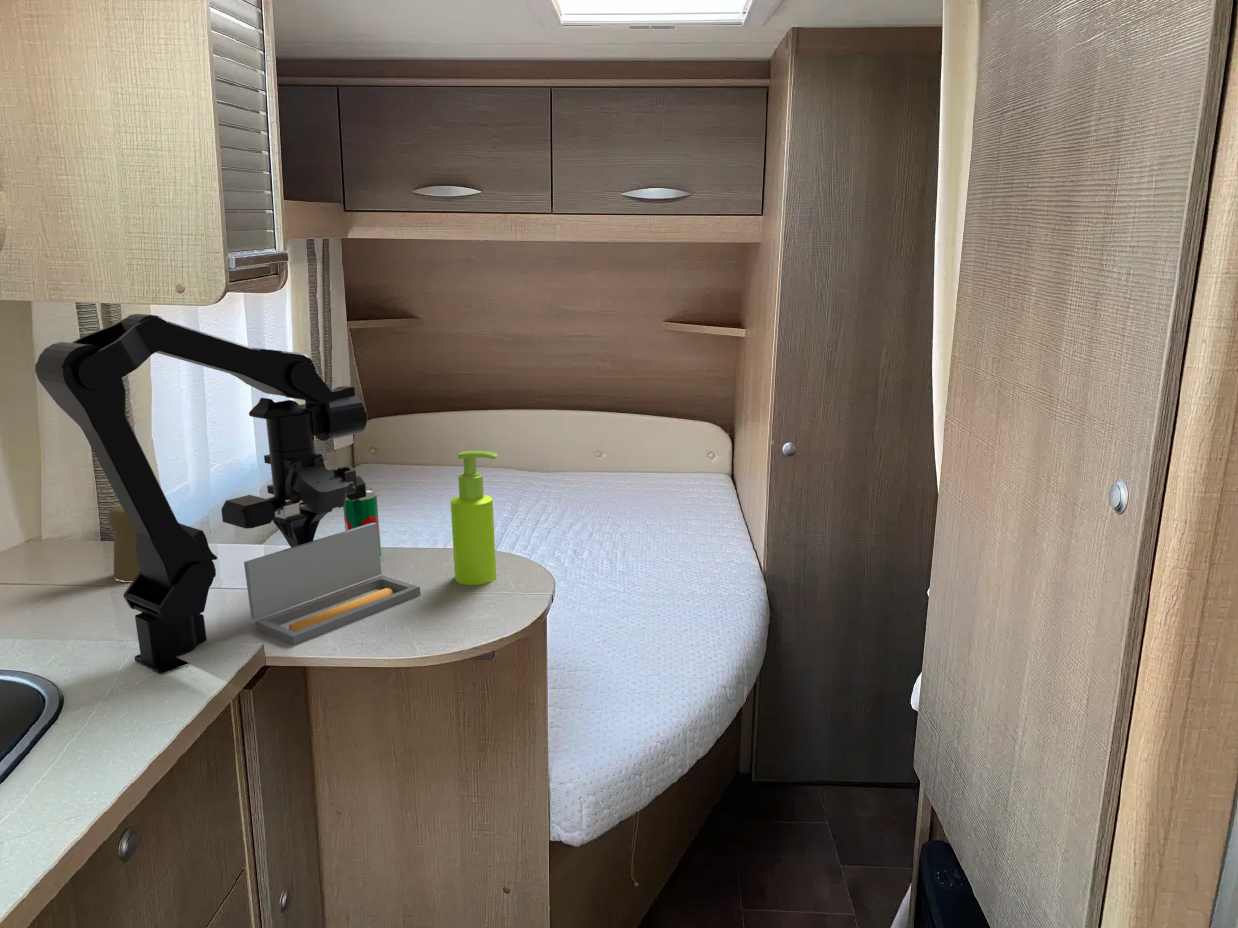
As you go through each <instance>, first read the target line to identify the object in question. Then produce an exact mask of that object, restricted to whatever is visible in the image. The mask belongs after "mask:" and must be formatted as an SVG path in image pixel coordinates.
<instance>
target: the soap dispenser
mask: <svg viewBox="0 0 1238 928" xmlns="http://www.w3.org/2000/svg"><path fill="white" fill-rule="evenodd" d="M498 455H499V453H498V452H494V451H491V450H490V451H489V450H480V449H479V450H478V449H477V450H466V451H465V450H464V451H460V452H459V453H458V455H457V456H458V457H457V459H458V460H459V459H462V460H463V472H462V473H461V474H459V475H458V477H457V479H458V496H455V497H453V498H451V499H450V514H451V515H450V516H451V529H452V530H451V531H452V548H453V563H454V565H453V566H454V579H455V582H456V583H457V584H460V585H465V586H480V585H485V584H489V583H492V582H493V581H497V565H496V564H497V563H496V544H495V525H494V524H495V522H494V521H495V517H494V501H493V500H494V499H493V497H492V496H490V495H488V494H484V479H483V474H482V473H479V471H477V459H478V458H480V459H481V458H482V459H483V458H484V459H491V460H495V459H496V458H497V457H498Z"/></svg>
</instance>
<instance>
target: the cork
mask: <svg viewBox="0 0 1238 928" xmlns="http://www.w3.org/2000/svg"><path fill="white" fill-rule="evenodd" d="M107 519H108V524H109V526H110V527H111V528H112V529H113V578H114V577H115V578H116V579H119V580H124V581H134V579H135V578H136V576H137V575H138V574H139V572H140V571H141V570H140V567H139V563H138V560H137V557H136V534H135V531H134V529H133V527H132V525H131V523H130V521H129V519H128V517H127V515H126V513H125V511H124V509H123V508H122V506H121V504H120V505H117V506H114V507H113V508H111V509H110V510H109V512H108V515H107Z"/></svg>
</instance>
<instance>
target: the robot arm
mask: <svg viewBox="0 0 1238 928" xmlns="http://www.w3.org/2000/svg"><path fill="white" fill-rule="evenodd" d="M156 353H157V354H159V355H163V356H167V357H169V358H174V359H176V360H180V361H183V362H184V361H185V362H187V363H191V364H195V365H198V366H202V367H205V368H209V369H212V370H215V371H219V372H223V373H226V374H229V375H232V376H234V377H236V378H237V379H239V380H240V381H242V382H243V383H244V384H246V385H248V386H251V387H252V388H254V389H256V390H258V391H260V392H262V393H265V394H267V395H275V396H280V397H285V398H288V399H287V400H281V401H280V400H279V401H274V400H273V398H267V397H260V399H259V401H258V402H257V404H256V405H255V406H253V407H252V408H251V410H250V411H249V413H248V415H249V417H251V418H257V419H262V420H265V421H266V432H267V441H268V443H267V444H268V451H269V454H265V455H263V460H264V463H265V464H268V465H270V471H271V481H272V484H269V485H266V488H267V489H266V490H267V494H270V495H273V496H272V497H268V498H264V497H259V496H257V495H252V494H247V495H243V496H238V497H236V498H232V499H227V500H225V501H224V503H223V505H222V507H221V518H222V523H226V524H229V525H232V526H236V527H239V528H243V529H254V528H257V527H261V526H262V527H263V526H265V525H269V524H271V523H272V522H273V523H274V524H275V526H276V527H277V529H278V530H279V531H280V533H281V534H282V536H283V537H284V539H285V540H286V541H287V543H288V546H289V548H291V547H295V546H298V545H301V544H304V543H308V542H311V541H314V539H315V536H316V531H317V530H318V528H319V524H320V521H321V520H322V519H323V518H324V517H325V516H326V515H327V514H329V513H331V512H333V510H334V509H336V508H338V509H341V508H343V506H345V501H346V499H348V500H350V501H352V500H355V499H359V498H363V497H366V495H367V493H366V487H367V484H366V482H365V481H364V478H362V476H359V475H357V472H356V471H357V469H355V468H354V467H352V466H351V465H349V464H348V465H344V466H341V467H338V468H337V469H335V468H333V469H328V468H326V465H325V461H324V460H325V459H324V457H323V453H319V452H317V451H316V442H315V441H316V440H315V438H316V439H317V440H319V441H322V442H323V441H324V442H325V441H330V440H331V441H332V440H334V439H339V438H345V437H348V436H354V435H358V434H361V433H362V432H364V430H365V429H366V426H367V423H368V413H367V410H365V407H364V404H363V402H362V400H361V399H360V398H359V397H358V396H357V395H356V389H355V387H354V386H348V385H342V386H337V387H335V388H331V389H330V387H329V386H328V385H327V384H326V382H325V381H323V378H321V376H320V375H319V374H318V373H317V371H316V366H315V365H314V360H313V359H312V358H311V356H308V355H307V354H305V353H301V352H294V351H293V352H292V351H287V350H285V351H284V350H276V349H267V348H266V349H265V348H260V347H259V348H257V347H251V346H248V345H245V344H242V343H238V342H236V341H232V340H229V339H226V338H222V337H220V336H216V335H213V334H210V333H207V332H203V331H200V330H197V329H193V328H190V327H187V326H184V325H182V324H178V323H175V322H172V321H169V320H166V319H164V318H163V317H161V316H159V315H155V314H146V313H145V314H143V313H133V314H130V315H128V316H127V317H125V318H122V319H121V320H119V321H118V322H115V323H114V324H112V325H109V326H107V327H103V328H101V329H98V330H96V331H93V332H90V333H89V334H86V335H83V336H81V337H79V338H77V339H75V340H74V341H72V342H68V341H67V342H66V341H65V342H64V341H60V342H56V343H52V344H50V345H49V346H47V347H45V348H44V350H42V352H41V353H40V354H39V356H38V359H37V361H36V363H35V365H34V370H35V374H36V377H37V381H39V383H40V384H41V386H42V387H43V388H44V389H45V391H46V392H47V394H49V396H50V397H51V399H52V400H53V401H54V402H55V404H56V405H57V406H58V407H59V408H60V409H61V410H63V412H64V413H65V414H67V416H69V417H70V418H71V419H72V420H73V421H74V422H75V423H76V424H77V425H78V426H79V428H80V429H81V430H82V432H83V434H84V436H85V438H86V440H87V442H88V444H89V445H90V447H91V450H92V451H93V454H94V455H95V457H96V460H97V461H98V463H99V465H100V467H101V469H102V471H103V472H104V475H105V476H106V478H107V480H108V482H109V484H110V486H111V488H112V490H113V493H115V496H116V498H117V500H118V502H119V504H120V505H121V506H122V508H123V509H124V511H125V513H126V515H127V517H128V519H129V521H130V523H131V525H132V527H133V529H134V531H135V534H136V557H137V560H138V563H139V567H140V570H141V571H140V572H139V574H138V575H137V576H136V578H135V579H134V581H133V582H131V583H130V584H129V585H128V587H127V589H126V590H125V592H124V593H123V599H124V600H125V602H126V604H127V605H128V607H129V608H130V609H131V610H136V611H138V612H140V613H137V614H135V615H134V619H135V625H136V634H137V639H138V647H139V653H140V654H137V655H134V661H135V663H139V664H140V665H142V666H144V667H147V668H148V669H150V670H153V671H155V672H156V673H158V674H166V673H168V672H170V671H173V670H175V669H178V668H182V667H183V666H186V665H188V664H190V662H188V661H187V660H184V659H182V658H179V657H180V656H183V655H187V654H189V653H190V652H193V651H194V650H195V649H197V647H198V646H199V645H202V644H203V643H204V642H207V641H208V639H207V632H206V624H205V616H204V614H202V613H204V612H205V609H206V605H207V599H208V595H209V591H210V587H211V586H212V584H213V582H214V578H216V575H217V569H216V565H215V563H214V561H216V560H218V556H217V555H216V554H214V553H213V551H212V550H211V549H210V545H209V543H208V538H207V536H206V534H205V532H204V531H203V530H201V529H199V528H195V527H192V526H188V525H186V524H182V523H179V522H178V520H177V518H176V516H175V514H174V511H173V510H172V508H171V505H170V503H169V501H168V499H167V497H166V495H165V493H164V491H163V489H162V486H161V485H160V483H159V481H158V479H157V477H156V474H155V472H154V471H153V469H152V467H151V465H150V462H149V461H148V459H147V456H146V454H145V453H144V450H143V448H142V446H141V444H140V443H139V441H138V438H137V436H136V434H135V431H134V430H133V427H132V426H131V424H130V422H129V419H128V417H127V413H126V412H127V411H126V409H127V407H126V406H127V405H126V404H127V399H126V398H127V391H126V387H125V383H124V380H123V378H124V377H125V376H128V375H129V374H131V373H133V372H134V371H136V370H137V369H139V368H140V366H142V364H144V363H145V362H146V361H147V360H148V359H149V358H150V357H151V356H152V355H154V354H156ZM292 399H296V400H300V401H301V400H302V401H304V404H299V403H298V402H296V401H295V400H292Z"/></svg>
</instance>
